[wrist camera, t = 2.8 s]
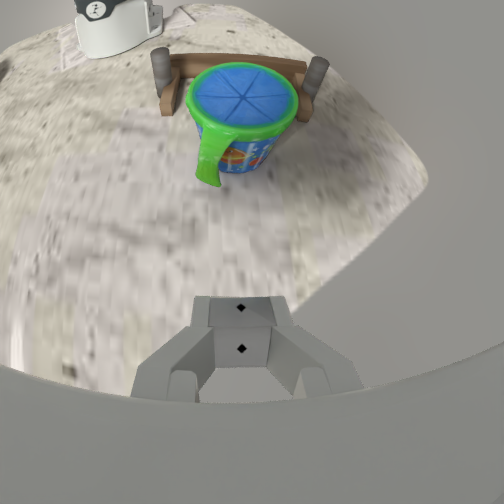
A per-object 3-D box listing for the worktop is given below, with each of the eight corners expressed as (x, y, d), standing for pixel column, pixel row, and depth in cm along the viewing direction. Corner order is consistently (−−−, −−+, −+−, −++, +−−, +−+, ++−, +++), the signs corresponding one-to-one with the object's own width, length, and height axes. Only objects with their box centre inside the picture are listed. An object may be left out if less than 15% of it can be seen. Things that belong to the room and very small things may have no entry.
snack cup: (230, 97, 34) (237, 41, 24) (298, 129, 34) (322, 76, 24) (163, 178, 30) (145, 124, 20) (241, 221, 30) (254, 175, 20)
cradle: (163, 73, 34) (158, 34, 26) (307, 80, 37) (322, 44, 29) (151, 116, 32) (141, 74, 24) (317, 123, 35) (337, 85, 27)
